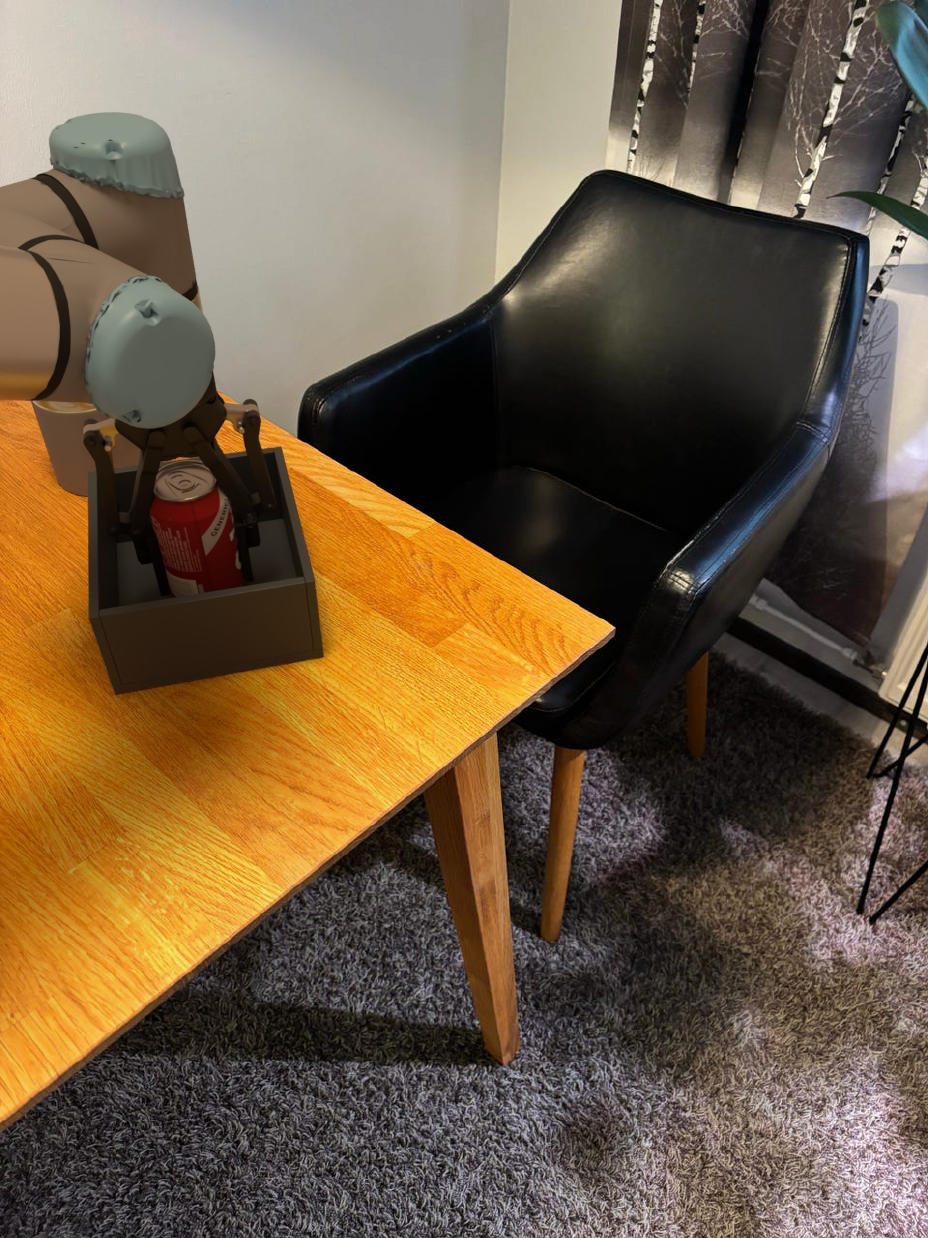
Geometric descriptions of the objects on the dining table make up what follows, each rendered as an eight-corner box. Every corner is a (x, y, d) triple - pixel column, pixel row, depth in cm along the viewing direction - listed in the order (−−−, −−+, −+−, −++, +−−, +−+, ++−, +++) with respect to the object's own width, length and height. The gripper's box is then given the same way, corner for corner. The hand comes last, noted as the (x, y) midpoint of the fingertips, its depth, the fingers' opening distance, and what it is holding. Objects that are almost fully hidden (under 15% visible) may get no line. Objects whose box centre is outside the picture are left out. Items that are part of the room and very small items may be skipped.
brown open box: (114, 694, 81) (88, 618, 75) (110, 547, 94) (87, 471, 88) (323, 657, 85) (315, 580, 78) (291, 520, 98) (281, 445, 92)
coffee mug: (152, 491, 101) (131, 407, 94) (52, 501, 99) (23, 417, 92) (153, 421, 110) (135, 340, 103) (62, 429, 108) (36, 348, 101)
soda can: (200, 623, 85) (173, 515, 76) (155, 587, 88) (125, 479, 80) (261, 585, 88) (242, 478, 80) (215, 552, 92) (193, 446, 83)
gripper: (282, 310, 76) (308, 536, 92) (17, 337, 72) (93, 569, 88) (296, 357, 71) (321, 588, 87) (12, 390, 67) (93, 625, 83)
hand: (206, 578), depth 88 cm, fingers closed on soda can, 7 cm apart
